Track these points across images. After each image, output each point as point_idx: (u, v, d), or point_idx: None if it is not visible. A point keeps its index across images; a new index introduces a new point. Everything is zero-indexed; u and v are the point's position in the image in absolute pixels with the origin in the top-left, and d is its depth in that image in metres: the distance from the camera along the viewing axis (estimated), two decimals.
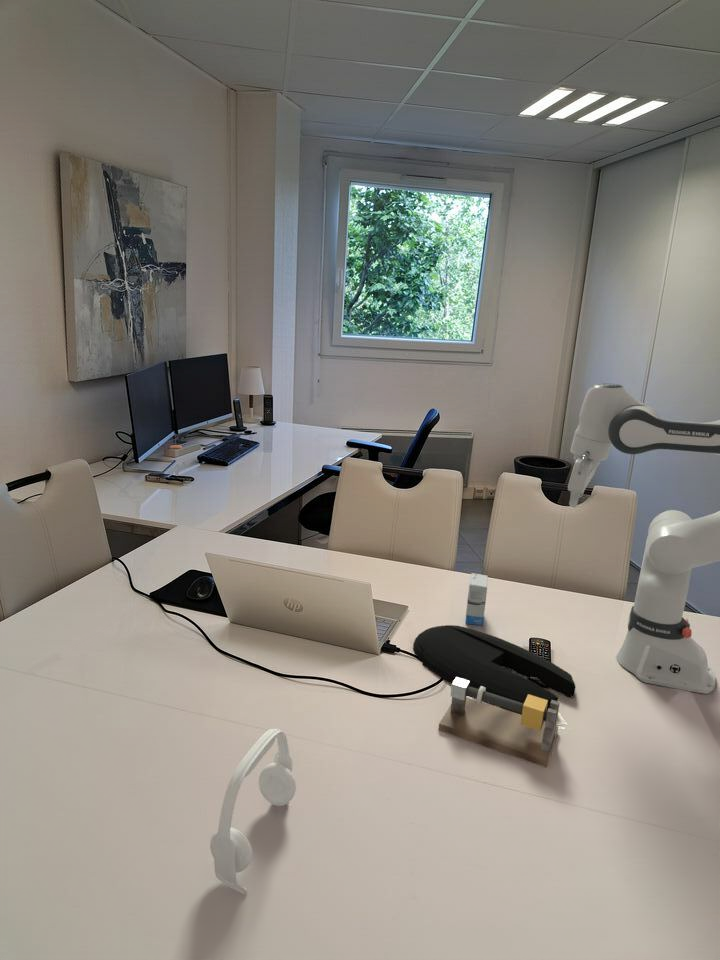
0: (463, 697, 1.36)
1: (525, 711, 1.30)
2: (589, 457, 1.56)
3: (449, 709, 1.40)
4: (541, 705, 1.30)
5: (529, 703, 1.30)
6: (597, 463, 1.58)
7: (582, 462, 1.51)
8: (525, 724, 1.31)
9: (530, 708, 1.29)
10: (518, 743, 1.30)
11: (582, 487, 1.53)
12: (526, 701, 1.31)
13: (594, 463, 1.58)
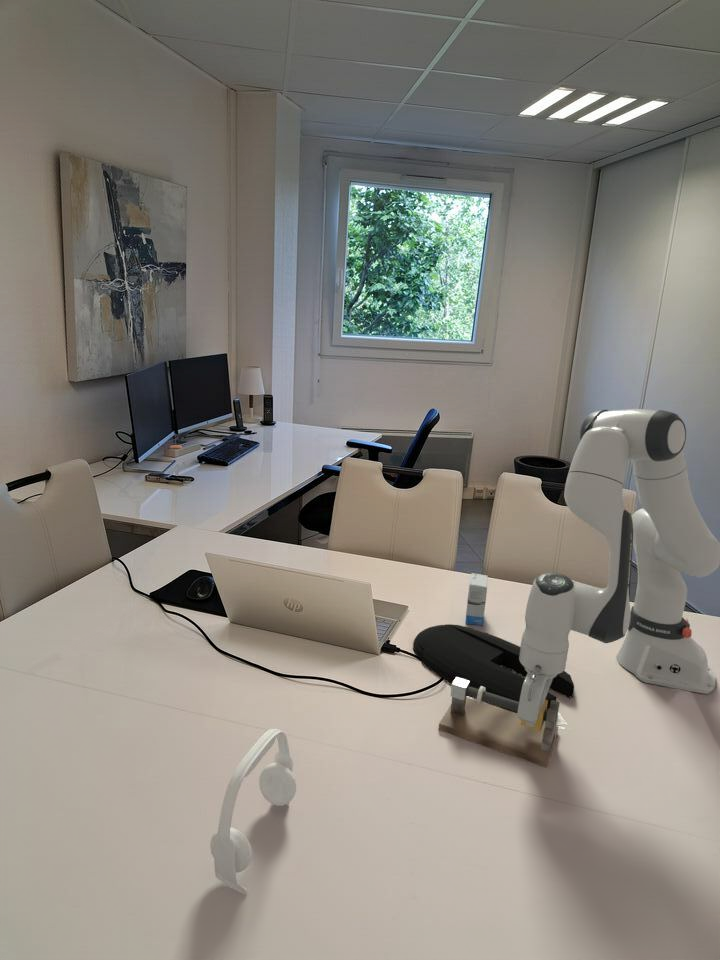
0: (463, 697, 1.36)
1: None
2: (541, 672, 1.24)
3: (449, 709, 1.40)
4: None
5: None
6: (553, 675, 1.26)
7: (530, 687, 1.20)
8: (525, 724, 1.31)
9: None
10: (518, 743, 1.30)
11: (534, 716, 1.21)
12: None
13: (549, 676, 1.26)
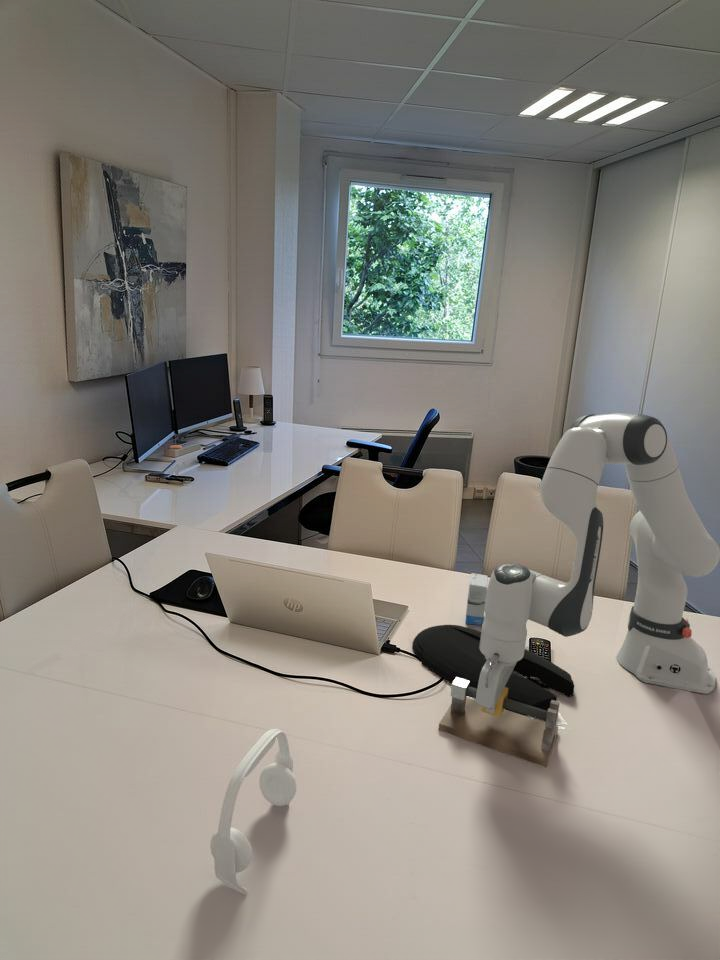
0: (463, 697, 1.36)
1: None
2: (499, 660, 1.28)
3: (449, 709, 1.40)
4: None
5: None
6: (512, 663, 1.30)
7: (487, 674, 1.23)
8: (486, 711, 1.34)
9: None
10: (518, 743, 1.30)
11: (492, 703, 1.24)
12: None
13: (508, 664, 1.29)
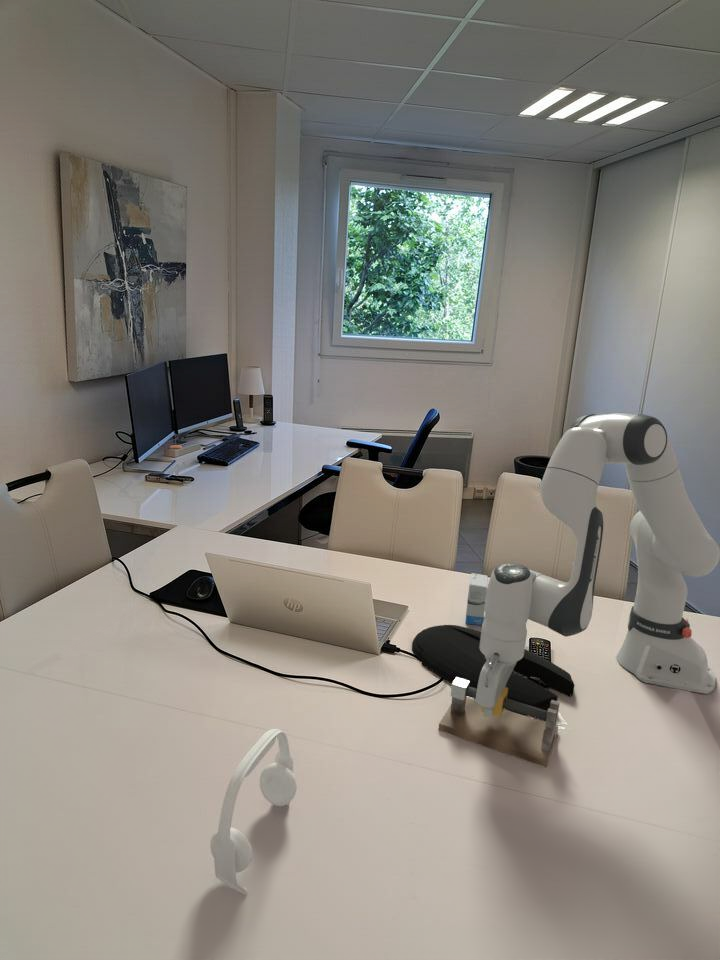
0: (463, 697, 1.36)
1: None
2: (499, 659, 1.28)
3: (449, 709, 1.40)
4: None
5: None
6: (512, 663, 1.30)
7: (487, 674, 1.23)
8: None
9: None
10: (518, 743, 1.30)
11: (492, 702, 1.24)
12: None
13: (508, 664, 1.29)
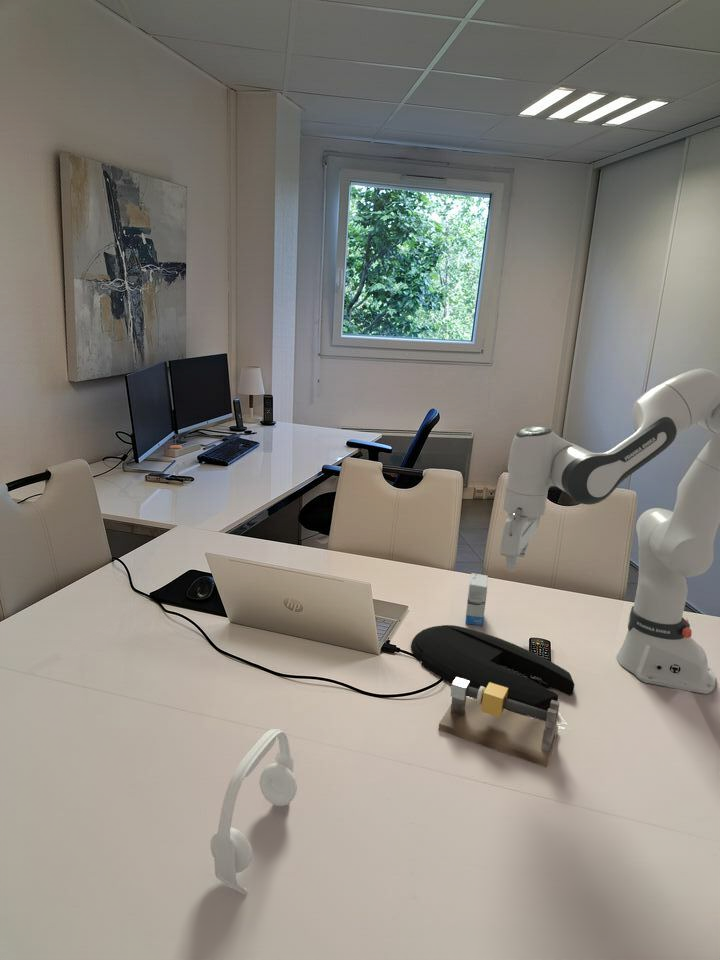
0: (463, 697, 1.36)
1: (485, 698, 1.33)
2: (522, 514, 1.36)
3: (449, 709, 1.40)
4: (501, 692, 1.33)
5: (490, 691, 1.34)
6: (533, 519, 1.38)
7: (512, 522, 1.31)
8: (485, 711, 1.34)
9: (490, 695, 1.33)
10: (518, 743, 1.30)
11: (515, 550, 1.32)
12: (487, 689, 1.34)
13: (530, 520, 1.37)
